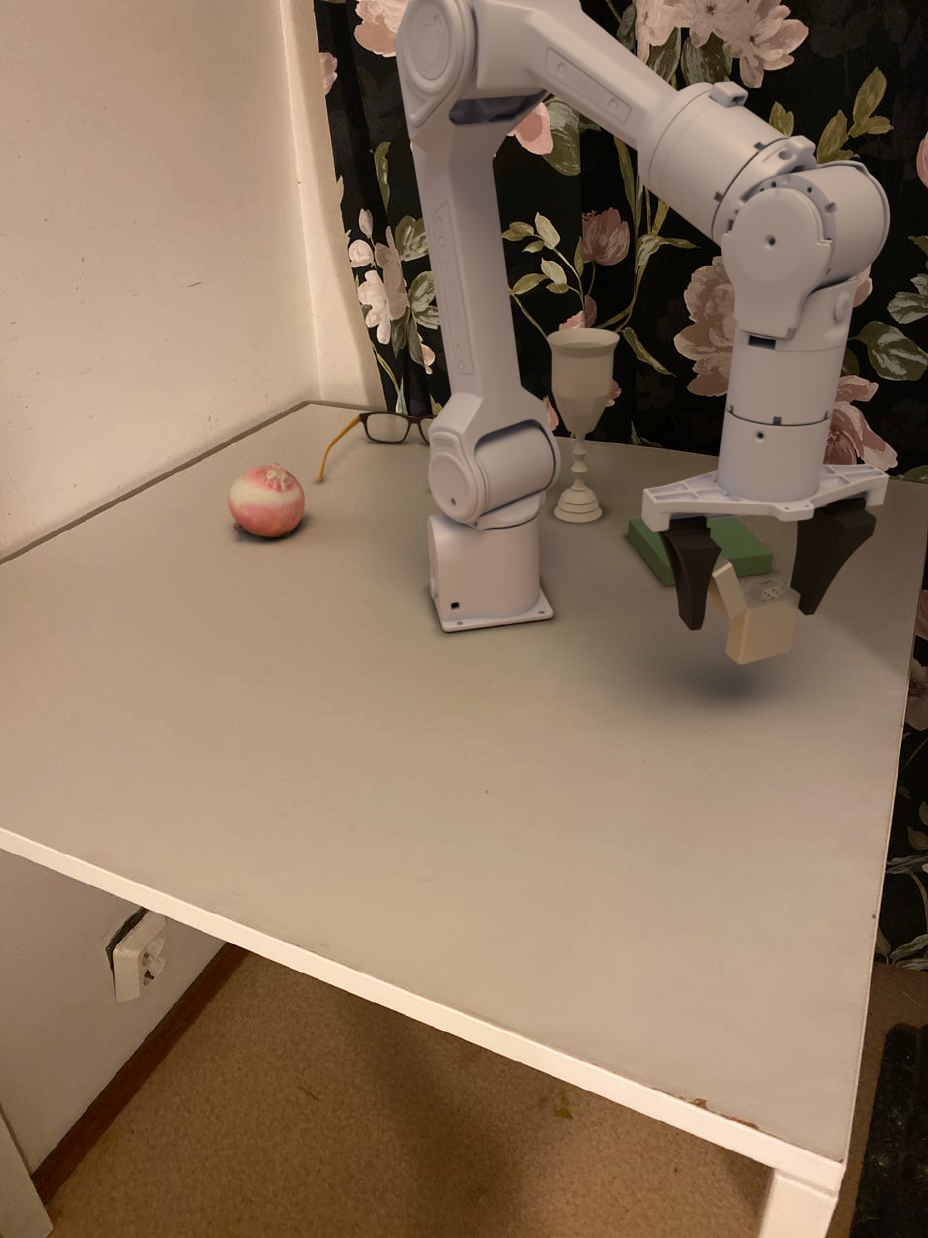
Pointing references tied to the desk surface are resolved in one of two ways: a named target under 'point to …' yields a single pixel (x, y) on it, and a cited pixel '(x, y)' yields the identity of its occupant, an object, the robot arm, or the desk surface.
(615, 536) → the desk surface
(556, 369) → the chalice
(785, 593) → the lighter
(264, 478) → the onion
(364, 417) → the eyeglasses
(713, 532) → the block
